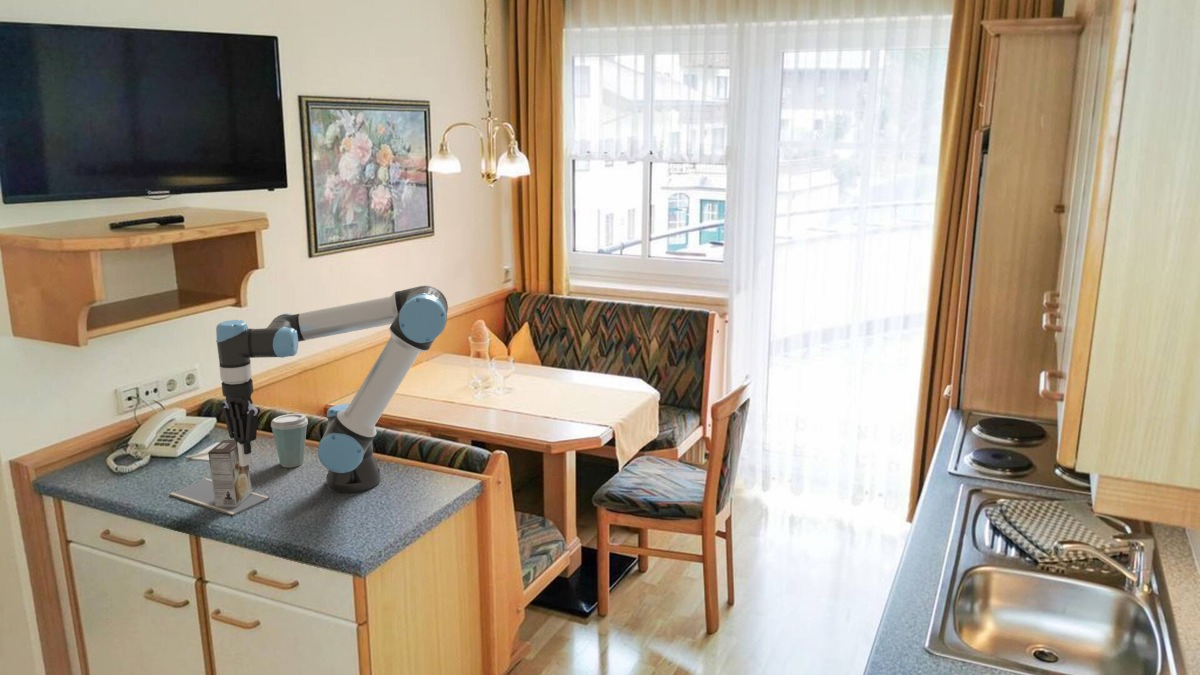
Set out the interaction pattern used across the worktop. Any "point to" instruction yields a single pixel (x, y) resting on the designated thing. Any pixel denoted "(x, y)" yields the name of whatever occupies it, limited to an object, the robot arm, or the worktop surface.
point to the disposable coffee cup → (290, 438)
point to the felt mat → (204, 496)
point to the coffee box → (228, 475)
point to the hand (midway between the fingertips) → (245, 464)
